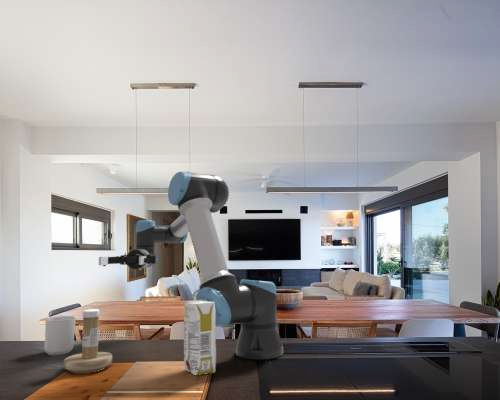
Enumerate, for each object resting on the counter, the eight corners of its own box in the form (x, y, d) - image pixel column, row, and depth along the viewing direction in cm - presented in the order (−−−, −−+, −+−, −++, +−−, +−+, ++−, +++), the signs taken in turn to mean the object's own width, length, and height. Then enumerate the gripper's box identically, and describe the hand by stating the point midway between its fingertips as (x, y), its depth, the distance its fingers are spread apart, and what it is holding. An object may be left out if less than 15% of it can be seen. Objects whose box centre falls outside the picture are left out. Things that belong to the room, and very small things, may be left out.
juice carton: (193, 378, 107) (192, 304, 109) (181, 369, 114) (181, 300, 116) (219, 373, 111) (218, 301, 113) (206, 365, 118) (205, 298, 120)
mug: (62, 356, 131) (63, 320, 133) (38, 355, 133) (39, 320, 134) (84, 347, 143) (85, 314, 144) (62, 346, 145) (63, 314, 146)
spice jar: (78, 357, 117) (79, 310, 119) (93, 354, 121) (94, 308, 122) (86, 360, 115) (87, 311, 116) (101, 357, 118) (102, 309, 120)
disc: (117, 369, 116) (118, 358, 116) (68, 378, 108) (69, 366, 109) (105, 359, 126) (105, 349, 127) (59, 367, 119) (59, 356, 119)
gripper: (170, 268, 157) (156, 271, 136) (106, 269, 158) (82, 272, 137) (170, 248, 158) (157, 249, 137) (106, 249, 159) (83, 250, 138)
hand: (119, 261), depth 137 cm, fingers open, 13 cm apart
